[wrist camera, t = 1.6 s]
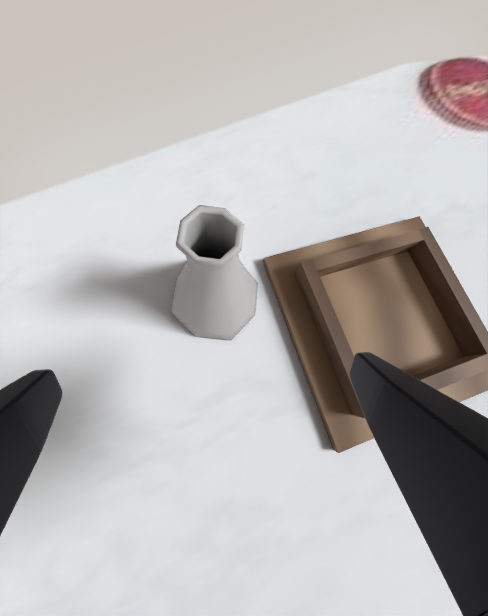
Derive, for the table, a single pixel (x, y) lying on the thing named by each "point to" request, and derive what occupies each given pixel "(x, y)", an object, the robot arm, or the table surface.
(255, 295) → the flask
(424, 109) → the table surface
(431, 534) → the robot arm
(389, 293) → the holder
